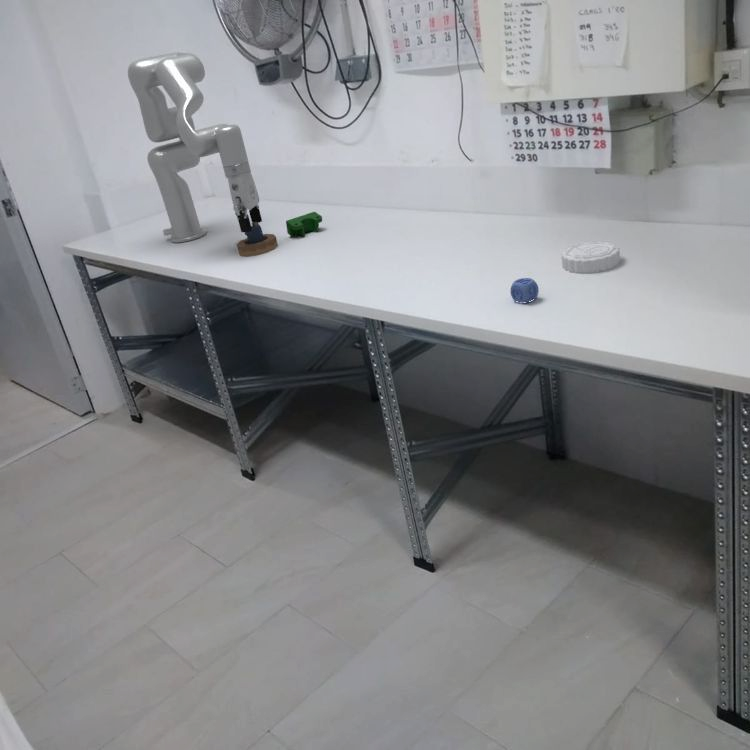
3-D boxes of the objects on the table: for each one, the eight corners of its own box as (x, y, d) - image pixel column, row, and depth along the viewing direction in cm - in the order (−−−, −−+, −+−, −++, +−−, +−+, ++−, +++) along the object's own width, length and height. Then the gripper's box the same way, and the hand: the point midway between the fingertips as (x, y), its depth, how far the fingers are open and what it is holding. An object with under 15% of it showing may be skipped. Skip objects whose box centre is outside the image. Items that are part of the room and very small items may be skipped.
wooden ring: (233, 258, 221) (231, 248, 219) (246, 246, 231) (244, 237, 230) (270, 253, 218) (268, 243, 217) (282, 241, 228) (279, 232, 227)
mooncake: (630, 265, 154) (630, 248, 153) (577, 278, 153) (576, 262, 152) (603, 251, 165) (602, 236, 164) (553, 264, 164) (552, 248, 162)
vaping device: (249, 251, 225) (238, 212, 220) (265, 246, 226) (255, 208, 221) (250, 252, 223) (239, 214, 218) (267, 248, 224) (257, 209, 219)
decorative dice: (524, 295, 150) (522, 276, 148) (539, 298, 147) (537, 279, 145) (511, 301, 148) (509, 283, 147) (526, 305, 145) (524, 286, 143)
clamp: (302, 249, 231) (290, 230, 225) (294, 243, 235) (281, 224, 228) (329, 227, 232) (317, 207, 226) (320, 221, 236) (308, 201, 230)
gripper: (239, 174, 206) (254, 233, 213) (258, 161, 221) (272, 217, 228) (214, 178, 208) (230, 237, 215) (235, 165, 223) (249, 220, 230)
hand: (252, 226), depth 222 cm, fingers open, 9 cm apart
